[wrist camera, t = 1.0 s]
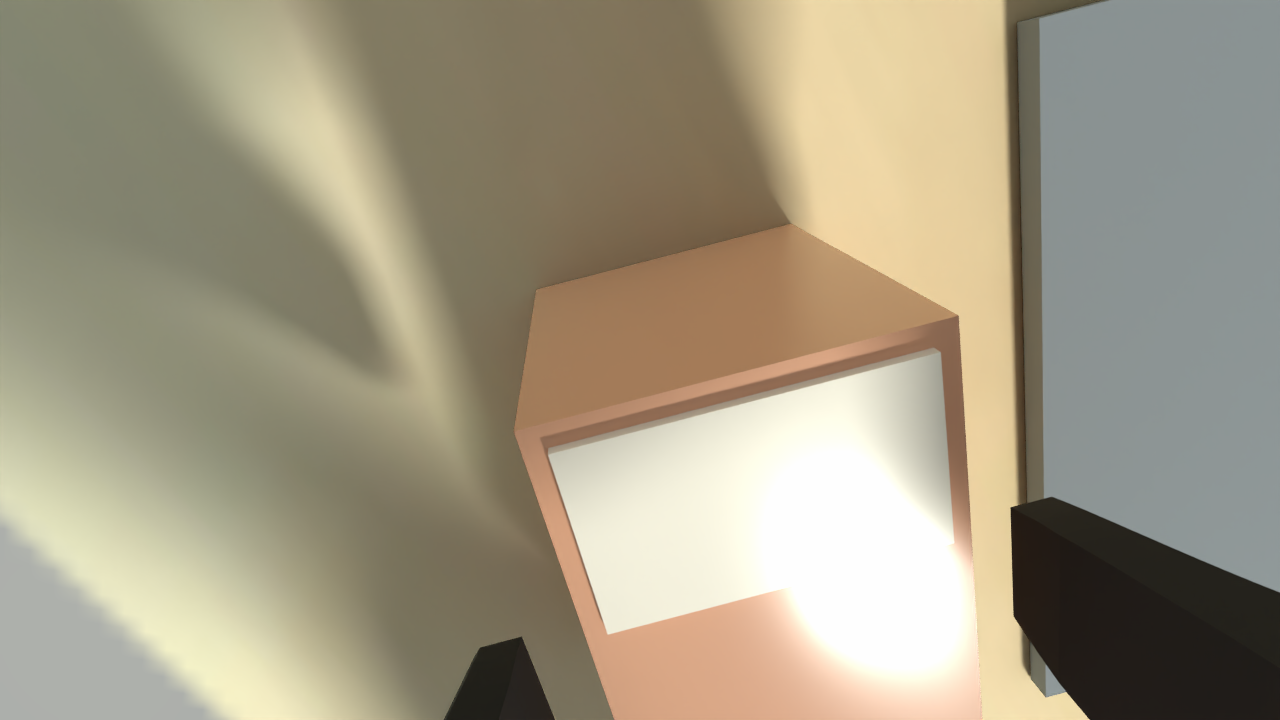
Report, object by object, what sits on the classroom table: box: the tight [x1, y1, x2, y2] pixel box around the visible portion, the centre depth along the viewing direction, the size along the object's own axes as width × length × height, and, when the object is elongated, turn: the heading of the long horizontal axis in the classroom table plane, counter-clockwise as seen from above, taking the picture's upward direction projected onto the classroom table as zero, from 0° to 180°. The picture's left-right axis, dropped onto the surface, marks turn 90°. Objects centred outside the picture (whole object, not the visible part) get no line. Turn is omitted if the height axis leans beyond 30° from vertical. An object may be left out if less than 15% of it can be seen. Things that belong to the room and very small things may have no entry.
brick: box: [514, 224, 982, 720], centre depth 12 cm, size 9×5×6 cm, turn 13°
